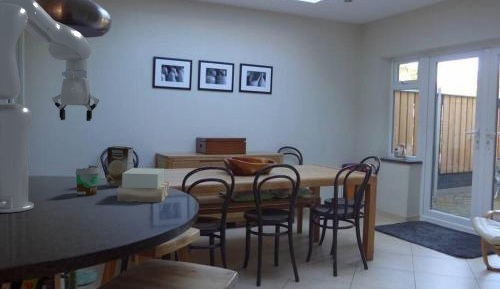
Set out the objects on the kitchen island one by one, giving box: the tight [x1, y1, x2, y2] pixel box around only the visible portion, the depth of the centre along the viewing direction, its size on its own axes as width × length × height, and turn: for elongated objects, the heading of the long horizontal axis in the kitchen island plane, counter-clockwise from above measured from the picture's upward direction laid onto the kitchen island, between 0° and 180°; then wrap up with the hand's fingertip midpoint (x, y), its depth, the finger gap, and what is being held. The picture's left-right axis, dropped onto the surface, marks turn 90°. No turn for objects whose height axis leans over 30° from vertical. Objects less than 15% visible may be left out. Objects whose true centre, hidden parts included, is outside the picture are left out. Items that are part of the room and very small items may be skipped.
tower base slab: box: [116, 181, 170, 203], centre depth 159 cm, size 17×15×5 cm
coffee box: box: [106, 146, 134, 187], centre depth 183 cm, size 9×6×16 cm
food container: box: [75, 165, 101, 197], centre depth 161 cm, size 12×6×10 cm, turn 179°
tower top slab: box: [122, 167, 166, 189], centre depth 159 cm, size 16×12×5 cm
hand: (75, 120), depth 170 cm, fingers open, 9 cm apart
